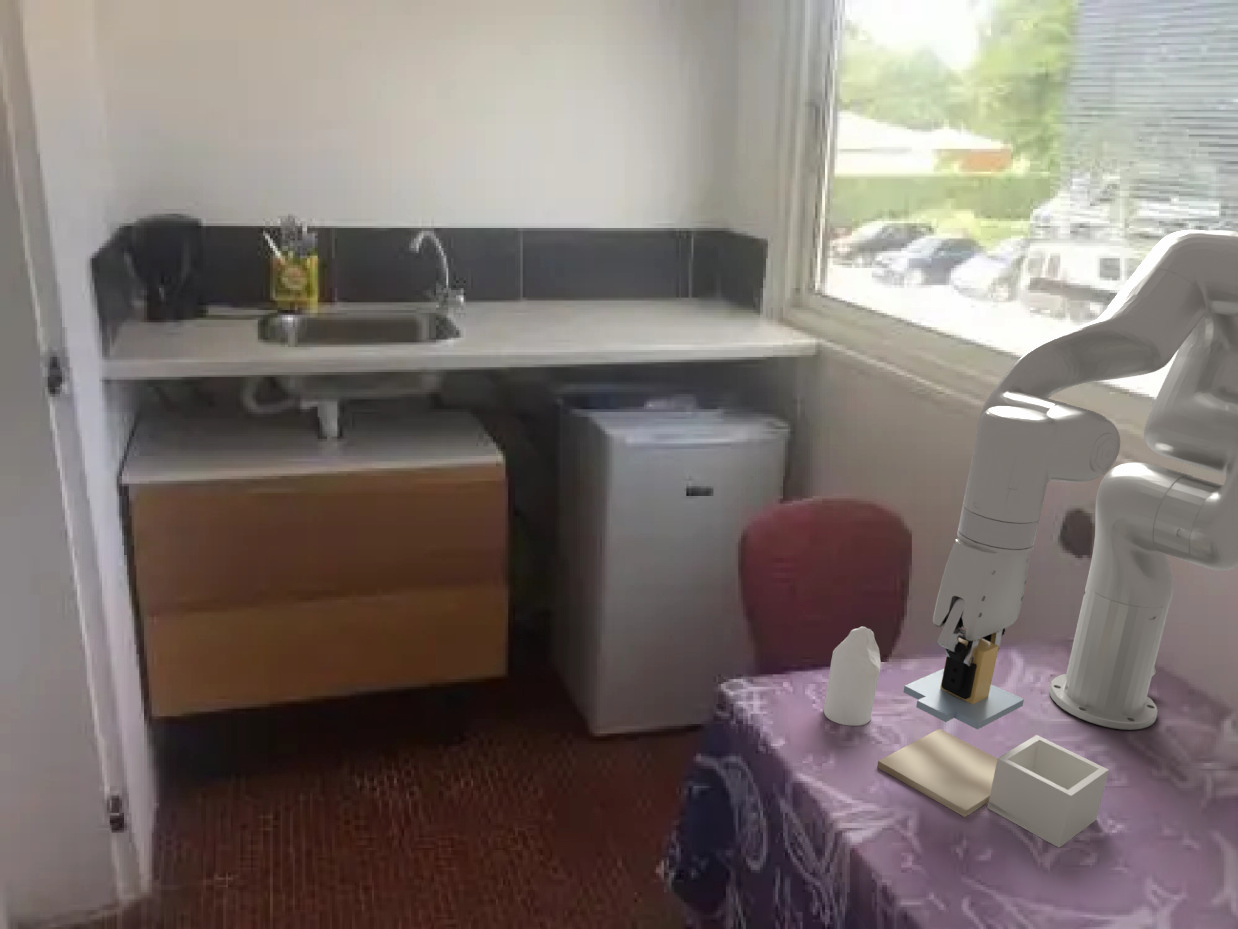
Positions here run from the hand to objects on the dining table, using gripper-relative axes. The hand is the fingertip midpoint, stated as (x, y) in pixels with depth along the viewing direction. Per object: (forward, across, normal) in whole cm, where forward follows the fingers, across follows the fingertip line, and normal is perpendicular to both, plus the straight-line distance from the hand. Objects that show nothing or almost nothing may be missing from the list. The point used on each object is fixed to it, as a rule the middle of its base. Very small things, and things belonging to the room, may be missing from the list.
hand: (965, 687), depth 116 cm
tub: (+11, -2, +10) cm, 15 cm away
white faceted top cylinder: (+11, -1, -14) cm, 18 cm away
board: (+11, -1, 0) cm, 11 cm away
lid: (+1, 0, 0) cm, 1 cm away
